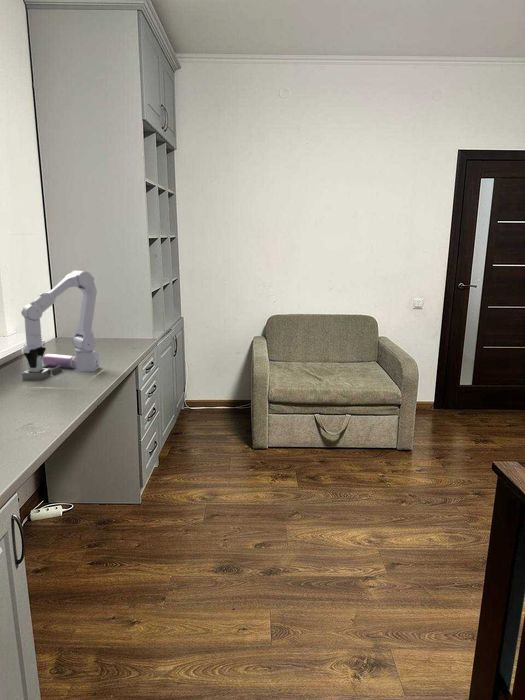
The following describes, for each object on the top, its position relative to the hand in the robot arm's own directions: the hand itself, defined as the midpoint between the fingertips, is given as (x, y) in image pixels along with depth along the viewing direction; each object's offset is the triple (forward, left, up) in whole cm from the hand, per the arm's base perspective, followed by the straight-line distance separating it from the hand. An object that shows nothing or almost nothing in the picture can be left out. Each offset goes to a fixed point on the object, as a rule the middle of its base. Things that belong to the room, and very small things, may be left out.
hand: (35, 366), depth 200 cm
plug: (0, 0, -2) cm, 2 cm away
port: (0, 0, -5) cm, 5 cm away
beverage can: (+5, -20, -2) cm, 21 cm away
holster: (-2, -8, -5) cm, 10 cm away
